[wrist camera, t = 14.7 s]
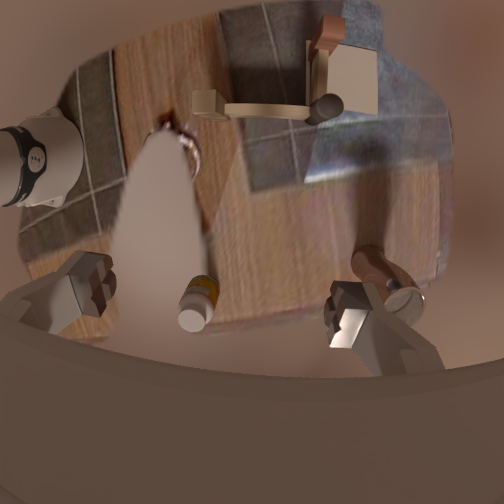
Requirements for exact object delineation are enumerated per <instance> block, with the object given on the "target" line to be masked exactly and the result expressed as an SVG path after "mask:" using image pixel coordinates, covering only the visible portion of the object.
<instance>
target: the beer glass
mask: <svg viewBox="0 0 504 504" xmlns="http://www.w3.org/2000/svg"><path fill="white" fill-rule="evenodd" d="M351 268H352V271H353V273H354V274H355V275H356V276H357V277H358V278H359V279H360V280H361V281H362V282H371V283H373V284H374V285H375V287H376V289H377V291H378V293H379V295H380V298H381V300H382V302H383V304H384V306H385V308H386V311H390V312H392V313H393V314H394V315H396V316H397V317H398V318H399V319H401V320H402V321H403V322H405V323H406V324H407V325H408V326H410V327H411V326H413V325H414V324H415V323H416V322H417V321H418V320H419V319H420V317H421V316H422V314H423V312H424V309H425V305H426V299H425V296H424V293H423V292H422V291H421V290H420V288H419V287H418V285H417V284H416V282H415V281H414V280H413V279H412V277H411V276H410V275H409V274H408V273H407V272H406V271H405V270H403V269H402V268H401V267H399V266H398V265H396V264H394V263H392V262H390V261H389V260H387V259H386V257H385V255H384V253H383V251H382V250H381V249H380V248H379V247H377V246H375V245H366V246H363V247H361V248H359V249H358V250H357V251H356V252H355V254H354V255H353V257H352V260H351Z"/></svg>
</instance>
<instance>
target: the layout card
mask: <svg viewBox="0 0 504 504" xmlns="http://www.w3.org/2000/svg"><path fill="white" fill-rule="evenodd" d="M310 43H311V41H310V40H306V106H311V105H310V91H311V74H312V61H308V50H309V45H310ZM328 93H333V94H336V95H338V96H339V97H340V98H341V99H342V101H343V104H344V110H349V111H356V112H362V113H368V114H374V115H378V78H377V54H376V51H371V50H367V49H362V48H357V47H351V46H346V45H340V44H339V45H338V46H337V47H336V49H335V50H334V51H333V53H332V54H331V55H330V57H329V58H328V81H327V94H328Z"/></svg>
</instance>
